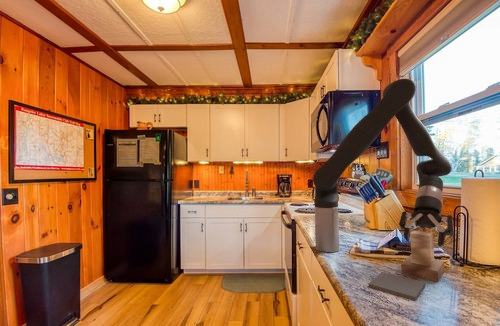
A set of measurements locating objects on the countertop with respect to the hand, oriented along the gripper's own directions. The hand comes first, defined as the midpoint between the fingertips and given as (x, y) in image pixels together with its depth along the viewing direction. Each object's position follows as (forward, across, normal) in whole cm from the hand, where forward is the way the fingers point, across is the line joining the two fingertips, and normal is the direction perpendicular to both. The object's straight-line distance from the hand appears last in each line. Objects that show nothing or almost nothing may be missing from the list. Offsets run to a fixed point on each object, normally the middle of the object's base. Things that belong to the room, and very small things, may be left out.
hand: (422, 242), depth 79 cm
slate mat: (+18, -3, -6) cm, 19 cm away
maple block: (+5, 0, +3) cm, 6 cm away
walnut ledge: (+7, 0, +6) cm, 9 cm away
